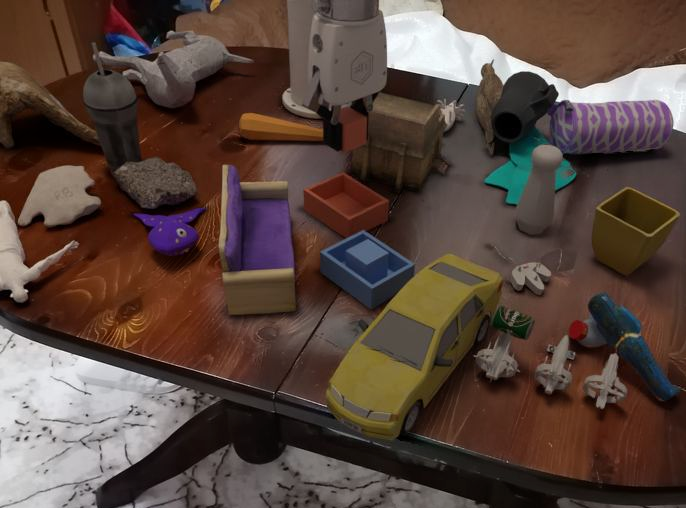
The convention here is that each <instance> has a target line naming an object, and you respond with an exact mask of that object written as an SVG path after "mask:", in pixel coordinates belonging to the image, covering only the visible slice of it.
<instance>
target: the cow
mask: <svg viewBox="0 0 686 508" xmlns="http://www.w3.org/2000/svg"><path fill="white" fill-rule="evenodd" d="M436 102H438V104H439V105H440V114H444V115H445V123H446V124H448V126H447V127H446V129H445V130H444V131H443V133H445V132H447V131H449V130H450V129H451V128H452V126H453V125H454V123H455V122H456V121H455V120H458V121H461V117H463V118H465V115H464V114H463V113H462V112H466V110H465V109H464V108H462V107H465V104H462V103H461V104H459V106H457V100H453V101H452V102H450V103H449V104H448V105H447V99H446V98H444V99H443V101H442V100H441V99H437V101H436Z"/></svg>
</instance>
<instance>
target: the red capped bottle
mask: <svg viewBox="0 0 686 508" xmlns="http://www.w3.org/2000/svg"><path fill="white" fill-rule="evenodd" d="M619 306H623V304H620V305H619ZM568 334H569V335H568V336H569V337H570V338H571V339H573V340H576V341H577V342H578V343H579V344H580V345H581V346H583V347H586V348H597V347H601V346H604V345H606V344H608V343H607V342H606V340H605V339H604V338H603V336H602V335H601V333H600V332H599V331H598V329H597V327H596V321H595V320H594V319H593V317H592V315H591V314H590V315H589V317H588V318H586V319H585V320H579V319H576V320H574V321H572V322H571V324H570V325H569V328H568Z"/></svg>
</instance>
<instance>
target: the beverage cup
mask: <svg viewBox="0 0 686 508" xmlns="http://www.w3.org/2000/svg"><path fill="white" fill-rule="evenodd" d="M91 46H92V49H93V54H95V57H96V60H97V62H96V64H97V66H98V70H96V71H95V72H93V73H91V74H90V75H89V76H88V77H87V79H86V81H85V83H84V85H83V91H82V93H83V105H84V106H85V108H86V110H87V113H88V115H89V117H90V118H91V121H92V123H93V126H94V130H95V131H96V132H97V135H98V138H99V141H100V144H101V146H100V147H101V149H102V152H103V155H104V158H105V161H106V163H107V166H108V169H109V171H110V174H111V175H112V176H113V173H114V172H116V170H117V169H118V168H120V167H121V166H122V165H124V164H125V163H126V162H127V161H133V162H142V154H141V153H142V152H141V144H140V134H139V126H138V116H137V114H138V96H137V94H136V91H135V89H134V86H133V85H132V83H131V82H130V80H129V79H126V78H125V77H124V76H123V75H122V74H123V73H120V72H118V71H116V70H113V69H108V68H107V69H104V68H103V65H102V64H101V60H100V57H99V53H98V52H99V49H98V47H97V44H96V42H95V41H94V42H91Z"/></svg>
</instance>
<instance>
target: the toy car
mask: <svg viewBox="0 0 686 508" xmlns="http://www.w3.org/2000/svg"><path fill="white" fill-rule="evenodd" d="M503 284H504V279H503V278H502V276H501V274H500V273H499V272H496V271H494V270H492V269H489V268H486V267H483V266H482V265H479V264H477V263H474V262H472V261H469V260H467V259H464V258H461V257H459V256H456V255H454V254H451V253H449V252H448V253H446V254H443V255H442V256H441V257H439V258H437V259H436V260H434V261H433V262H431V263H429V264H428V265H427V266H425V267H423V268H422V269H420V270H419V272H417V273H416V274H414V277H413V278H412V279H411V280H410V281H409V282H408V283H407V284H406V285H405V286H404V287H403V288H402V289H401V290H400V291H399V292H398V293H397V294H396V295H395V296H393V297H392V298H391V300H390V301H389V302H388V303H387V304H386V305H385V306H384V309H382V310H381V312H380V313H379V315H378V316H377V317H376V318H375V319H373V321H372V322H371V323H370V325H369V324H368V323H367V322H366V321H365V320H364V319H363V318H360V319H359V320H358V326H359V327H360V329H361V330H362V332H363V333H362V334H361V335H360V337H359V338H357V340H356V341H355V342H354V343H353V344H352V346H351V347H350V349H349V350H348V351H347V352H346V354H345V356H344V357H343V358H342V360H341V362H340V363H339V365H338V367H337V368H336V370H335V371H334V373H333V375H332V376H331V378H330V379H328V384H327V387H328V388H327V389H326V391H325V401H326V402H325V403H326V408H327V410H328V411H329V412H330V413H331V414H332V415H333V417H334V418H335V419H336V421H338V422H339V423H340V424H342V425H343V426H346V427H348V429H351V430H353V431H354V432H357V433H359V434H362V435H364V436H367V437H368V438H369V437H370V438H374V439H381V440H386V441H391V442H393V441H394V440H396V439H397V438H398V437H399V436H406V435H407V434H409V433H410V432H411V431H412V430H413V428H414V427H415V426H416V424H417V422H418V419H419V418H420V414H421V409H422V404H423V409H425V408H426V407H427V405H428V404H429V403H430V401H431V400H432V399H433V398H434V397H435V395H436V394H437V392H438V391H439V390H440V388H441V387H442V386H443V384H445V382H446V381H447V379H448V378H449V377H450V375H451V374H452V373H453V371H454V370H455V369H456V367H457V366H458V365H459V364H460V362H461V361H462V360H463V359H464V357H465V356H466V355H467V354H468V352H469V351H470V350H471V348H472V347H473V346H476V347H477V346H479V345H480V344H481V343H482V342H483V341H484V340H485V338H486V336H487V334H488V332H489V328H490V326H491V319H493V316H494V313H495V311H496V310H497V308H498V305H499V302H500V299H501V297H502V295H503V294H502V293H503V292H502V291H503V290H502V288H503ZM488 313H489V314H490V315H489V314H488ZM421 403H422V404H421Z"/></svg>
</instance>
